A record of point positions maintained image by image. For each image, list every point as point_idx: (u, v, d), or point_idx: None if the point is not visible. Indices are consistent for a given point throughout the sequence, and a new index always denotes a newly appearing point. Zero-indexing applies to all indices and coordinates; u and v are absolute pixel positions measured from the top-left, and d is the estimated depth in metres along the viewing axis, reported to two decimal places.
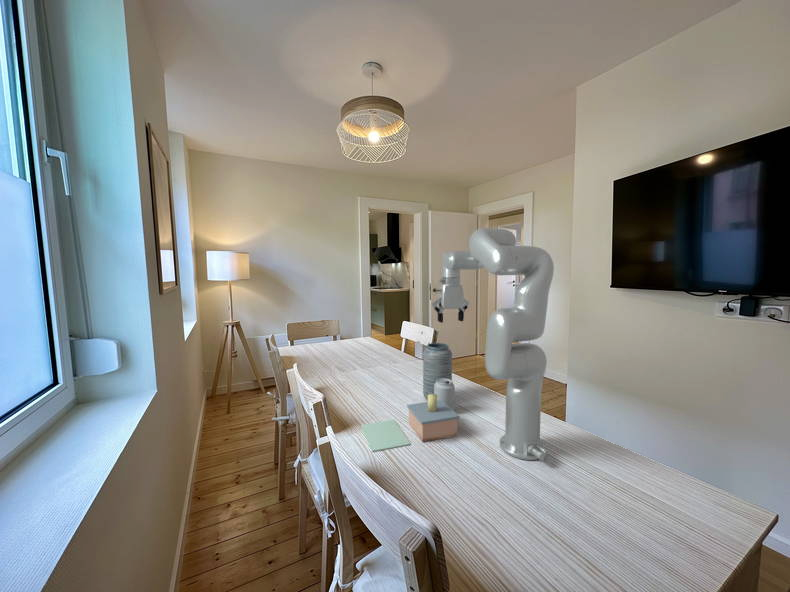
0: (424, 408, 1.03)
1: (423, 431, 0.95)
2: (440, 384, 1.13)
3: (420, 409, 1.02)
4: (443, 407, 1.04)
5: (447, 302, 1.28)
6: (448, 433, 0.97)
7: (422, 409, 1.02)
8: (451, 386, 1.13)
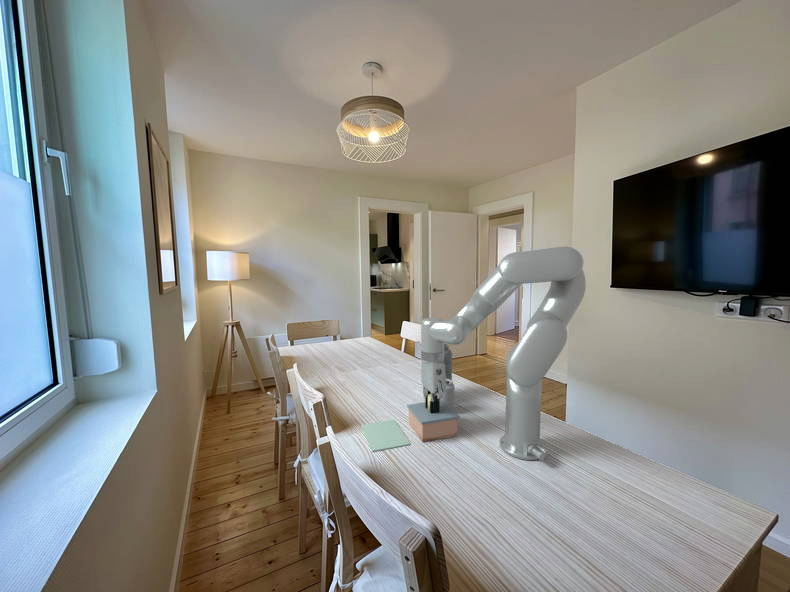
0: (424, 408, 1.03)
1: (423, 431, 0.95)
2: None
3: (420, 409, 1.02)
4: (443, 407, 1.04)
5: None
6: (448, 433, 0.97)
7: (422, 409, 1.02)
8: (451, 386, 1.13)
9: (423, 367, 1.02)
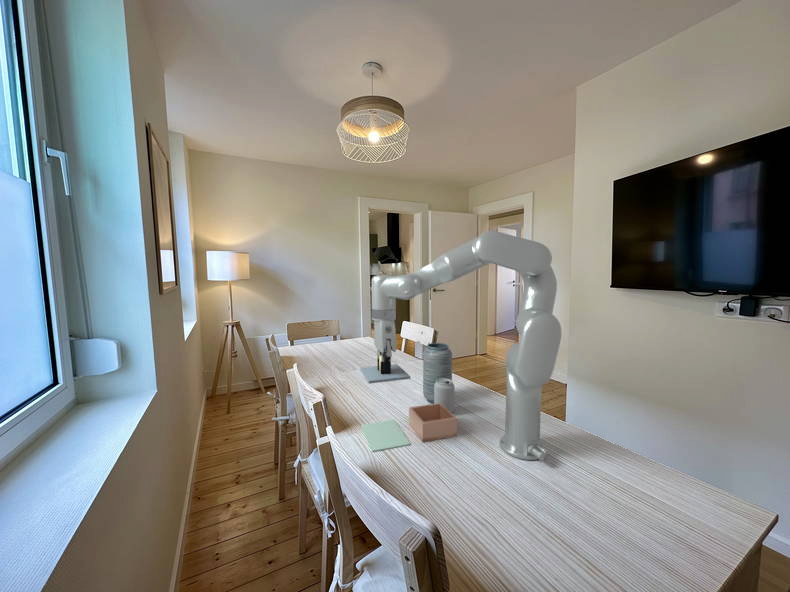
0: (377, 370, 0.99)
1: (423, 431, 0.95)
2: (440, 384, 1.13)
3: (372, 371, 0.98)
4: (396, 369, 1.00)
5: None
6: (448, 433, 0.97)
7: (374, 371, 0.98)
8: (451, 386, 1.13)
9: (374, 327, 0.98)
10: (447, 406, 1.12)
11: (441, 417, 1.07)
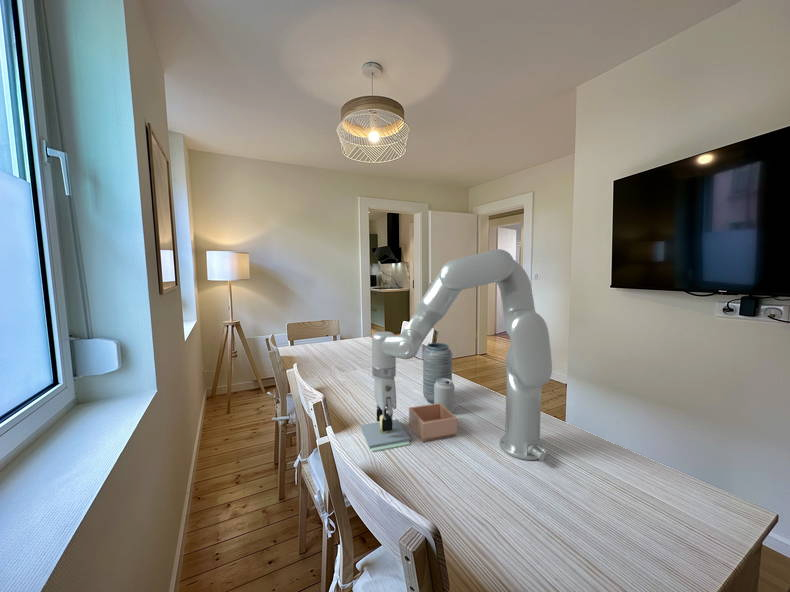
0: (377, 428, 1.01)
1: (423, 431, 0.95)
2: (440, 384, 1.13)
3: (372, 430, 1.00)
4: (397, 428, 1.01)
5: None
6: (448, 433, 0.97)
7: (374, 430, 1.00)
8: (451, 386, 1.13)
9: (375, 382, 0.99)
10: (447, 406, 1.12)
11: (441, 417, 1.07)
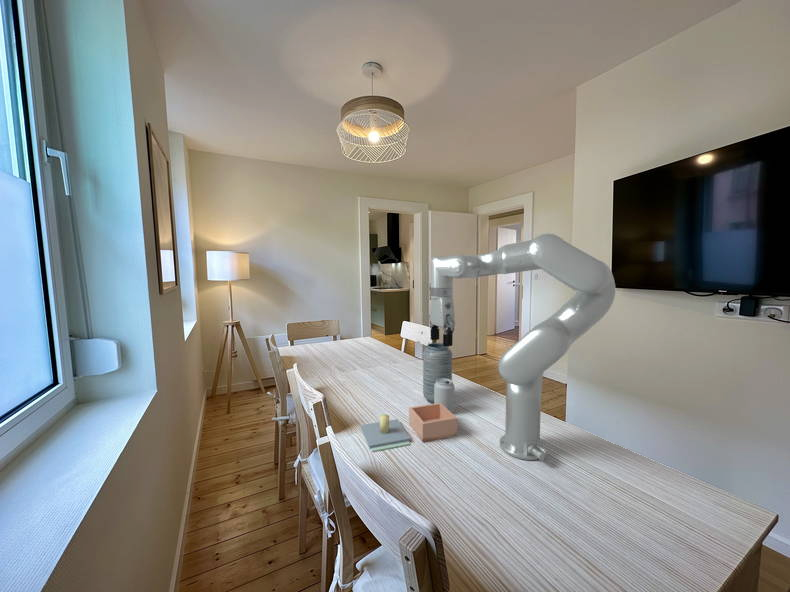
0: (377, 428, 1.01)
1: (423, 431, 0.95)
2: (440, 384, 1.13)
3: (372, 430, 1.00)
4: (397, 428, 1.01)
5: None
6: (448, 433, 0.97)
7: (374, 430, 1.00)
8: (451, 386, 1.13)
9: (432, 305, 1.05)
10: (447, 406, 1.12)
11: (441, 417, 1.07)
